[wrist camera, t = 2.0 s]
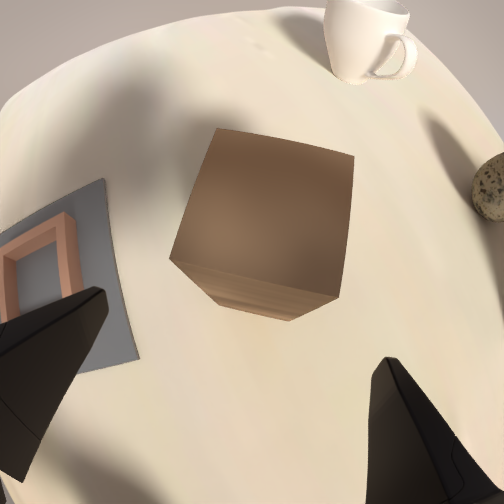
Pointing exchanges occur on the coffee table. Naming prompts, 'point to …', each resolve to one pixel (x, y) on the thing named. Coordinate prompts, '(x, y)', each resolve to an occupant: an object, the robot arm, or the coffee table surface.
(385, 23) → the mug
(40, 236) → the holder
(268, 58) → the coffee table surface
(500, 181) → the decorative egg
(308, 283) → the block
